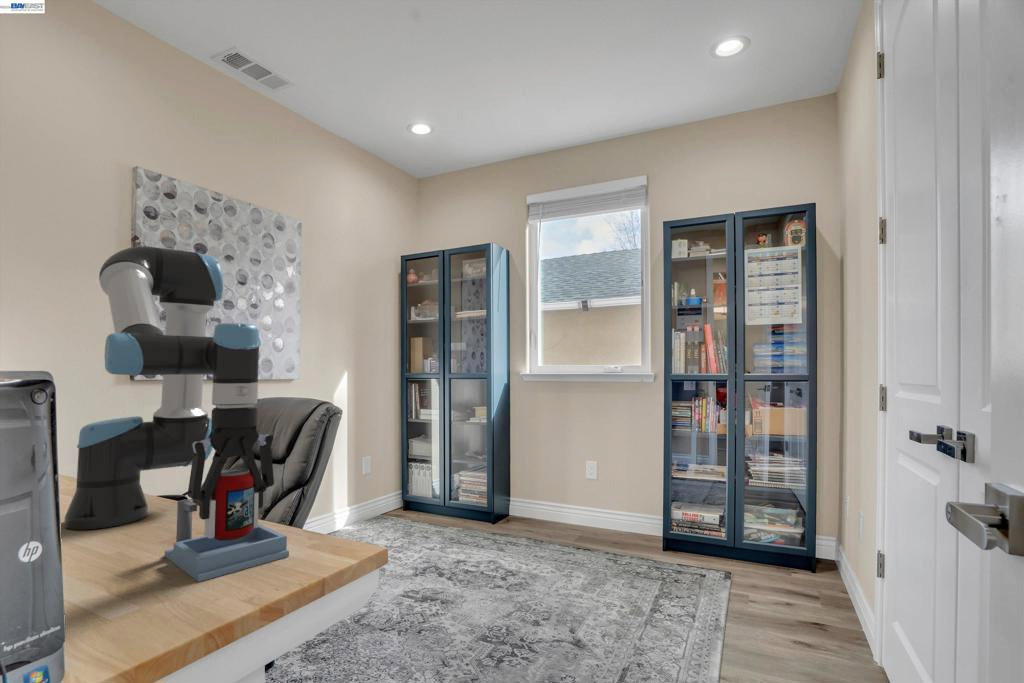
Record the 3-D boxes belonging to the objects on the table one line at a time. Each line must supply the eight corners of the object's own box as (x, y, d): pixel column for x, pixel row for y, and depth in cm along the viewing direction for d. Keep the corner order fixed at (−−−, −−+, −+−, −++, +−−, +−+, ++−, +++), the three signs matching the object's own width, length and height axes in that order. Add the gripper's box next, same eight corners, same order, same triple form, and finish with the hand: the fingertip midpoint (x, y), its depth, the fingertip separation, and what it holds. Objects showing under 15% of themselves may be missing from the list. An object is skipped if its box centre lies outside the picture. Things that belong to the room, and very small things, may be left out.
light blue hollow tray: (164, 556, 95) (166, 501, 95) (248, 536, 106) (249, 487, 107) (198, 581, 83) (200, 519, 84) (288, 556, 94) (290, 501, 95)
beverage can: (239, 543, 90) (241, 474, 91) (202, 543, 90) (204, 474, 91) (259, 531, 97) (260, 467, 97) (224, 531, 97) (226, 467, 98)
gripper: (181, 410, 85) (176, 550, 84) (295, 404, 100) (293, 523, 99) (167, 408, 90) (162, 540, 88) (278, 402, 105) (276, 516, 103)
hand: (231, 531), depth 93 cm, fingers closed on beverage can, 7 cm apart
